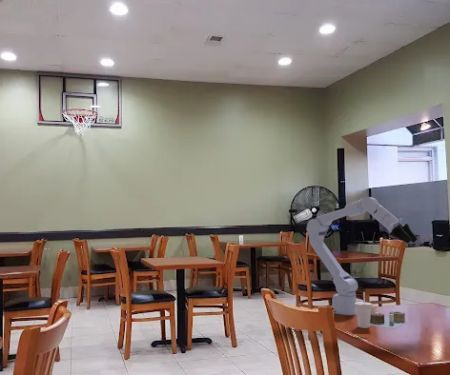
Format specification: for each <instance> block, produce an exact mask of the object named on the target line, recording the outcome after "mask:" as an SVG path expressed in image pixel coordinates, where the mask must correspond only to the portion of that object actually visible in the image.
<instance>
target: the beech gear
mask: <svg viewBox="0 0 450 375" xmlns="http://www.w3.org/2000/svg"><path fill="white" fill-rule="evenodd" d="M389 314H393V315H394V321H396V322H404V321H405V319H406V316H405V315H406V314H405V312H403V311H390V312H389Z"/></svg>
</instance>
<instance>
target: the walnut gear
mask: <svg viewBox="0 0 450 375" xmlns="http://www.w3.org/2000/svg"><path fill="white" fill-rule="evenodd" d="M375 313H376V312H371V317H370V322H372V323H379V324H381V323H385V320H384V317H385V313H381V312H378V313H379V315H375Z"/></svg>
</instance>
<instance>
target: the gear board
mask: <svg viewBox="0 0 450 375" xmlns="http://www.w3.org/2000/svg"><path fill="white" fill-rule="evenodd" d="M374 313H375V315H379V313H380V312H374ZM384 320H385V323H381V324H379V323H372V322H370V326H373V327H381V328H387V329H388V328H389V329H397V328H398V327H400V326H401V325H403V324H405V323H407V322H409V321H410V319H406V318H405V321H404V322H396V321H394V315H393V314H390V313H389V315H388V316H384Z"/></svg>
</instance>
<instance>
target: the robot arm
mask: <svg viewBox="0 0 450 375" xmlns="http://www.w3.org/2000/svg"><path fill="white" fill-rule="evenodd" d="M366 212H368V214H370V215H371V216H372V217H373V218H374V219H375V220H377V222H378V223H380V224H381V225H382V226H383V227H384V228H386V229H387V230H388V232H389V236H392V237H394V238H397V239H399V240H401V241H403V242H404V243H406V244H409V243H410V242H412V243H415V242H416V241H417V240H418V237H417V236H416V235H415V233H414V232H413V231H412V230H411V227H410V226H409V224H408V223H405V225H404V224H403V222H402V221H403V220H404V219H403V218H402V217H400V218H399V219H398V217H396V216H395V215H394V214H393V213H391V212H390V210H388V209H386V208H385V207H384V206H383V205H381V204H380V203H379V201H378V199H377V198H375V197H371V196H369V197H368V196H366V197H364V198H359V200H355V201H348V203H347V204H346V205H345V206H344V208H341V209H337V210H334V211H331V212H328V213H324V214H321V215H318V216H316V217H315V218H312V219H310V220H309V221H308V222H307V225H306V232H307V233H308V239H309V244H310V246H311V248H313V250H314V252H315V253H316V254H317V256H318V257H319V259H320V260H321V262H322V263H323V265H324V266H325V268H326V269H327V270H328V272H329V273H330V274H331V276H332V278H333V279H332V282H333V284H334V286H335V290H336V292H337V293H335V294H333V296H332V300H331V303H332V304H331V305H332V307H333V308H334V309H335V311H334V313H333V314H338V315H344V316H356V315H357V314H356V307H355V306H354V305H355V303H356V302H357V292H356V291H358V288H359V284H358V281H357V280H356V279H355V278H353V277H352V276H351V275H350V273H348V272H346V270H344V269H343V268H342V266H341V265H340V263H339V262H338V261H337V259H336V257H335V256H334V254H332V252H331V251H330V249H329V248H328V246H327V245H326V244H325V242H324V239H325V236H326V235H327V232H328V230H329V229H330V226H331V225H332V222H333V221H335V220H338V219H341V218H344V217H346V216H348V218H349V217H350V218H353V217H356V216H359V215H362V214H365V213H366ZM332 307H331V308H332Z"/></svg>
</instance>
